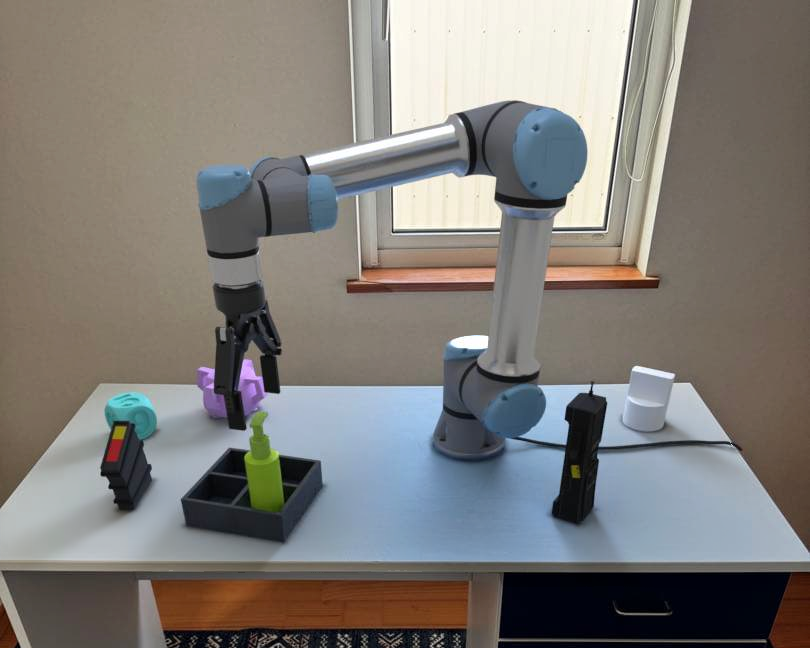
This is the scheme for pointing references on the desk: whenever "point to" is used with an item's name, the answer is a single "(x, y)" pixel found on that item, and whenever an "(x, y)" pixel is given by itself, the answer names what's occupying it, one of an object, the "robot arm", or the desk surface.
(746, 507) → the desk surface
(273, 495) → the soap dispenser
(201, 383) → the pot
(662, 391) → the cylinder with rectangular tab
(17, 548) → the desk surface
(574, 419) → the portable radio
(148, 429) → the decorative dice
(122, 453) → the black ridged block
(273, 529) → the rack
